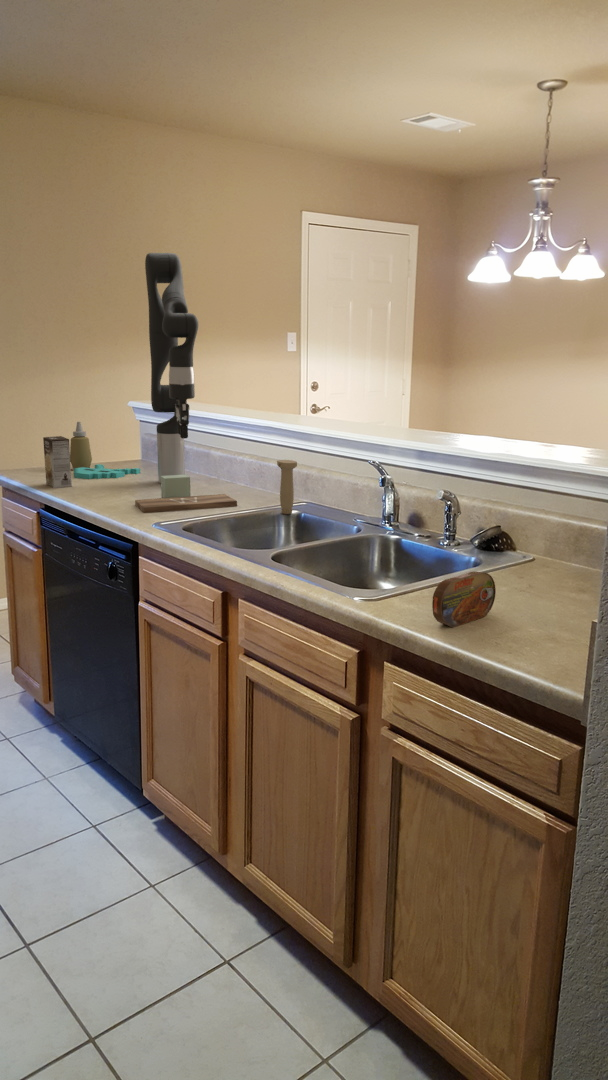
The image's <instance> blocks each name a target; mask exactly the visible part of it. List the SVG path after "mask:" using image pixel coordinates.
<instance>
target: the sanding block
mask: <svg viewBox="0 0 608 1080" xmlns="http://www.w3.org/2000/svg"><path fill="white" fill-rule="evenodd" d="M160 487H161V488H160V491H161V493H160V498H172V497H188V496H192V495H191V477H190V476H189V475H188V474H185V475H169V476H161V483H160Z"/></svg>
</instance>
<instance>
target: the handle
mask: <svg viewBox="0 0 608 1080" xmlns="http://www.w3.org/2000/svg"><path fill="white" fill-rule="evenodd" d="M276 462H277V463H276V465H277V467H278V468H279V469H280V471H281V472H280V489H279V491H280V492H279V502H280V508H281V514H282V515H291V514H292V513H293V507H294V498H295V497H294V494H295V491H294V469H295V468H297V467H298V462H297V460H293V459H279V460H276Z"/></svg>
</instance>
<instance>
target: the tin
mask: <svg viewBox="0 0 608 1080" xmlns="http://www.w3.org/2000/svg"><path fill="white" fill-rule="evenodd" d="M495 583H496V582H495V580H494V579H493V577H492V576H491V575H490V573H487V572H481V571H480V572H479V571H470V572H466V573H462V574H459V575H456V576H453V577H449V578H446V579H445V578H444V580H442V581H441V582H439V584H438V585H437V586H436V588H435V590H434V591H433V594H432V603H431V605H432V609H431V610H432V614H433V618H434V619H435V620H436V622H438V623H439V624H441V625H444V626H445V625H446V626H448V627H450V628H456V627H459V626H463V625H464V624H469V623H471V622H473V621H476V620H480V619H482V618H485V617H486V616H487V615H488V614H489V612H490V611H491V610H492V608H493V605H494V602H495V598H496V584H495Z"/></svg>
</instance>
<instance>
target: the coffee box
mask: <svg viewBox="0 0 608 1080" xmlns="http://www.w3.org/2000/svg"><path fill="white" fill-rule="evenodd" d="M42 438H43V453H44V467H45V468H44V469H45V481H46V482H45V483H46V485H48V486H50V487H52V488H53V489H59V488H68V487H69V488H70V487H73V486H72V469H71V467H72V464H71V462H70V445H71V444H70V438H67V437H64V436H62V435H58V436H57V435H56V436H44V437H42Z"/></svg>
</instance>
